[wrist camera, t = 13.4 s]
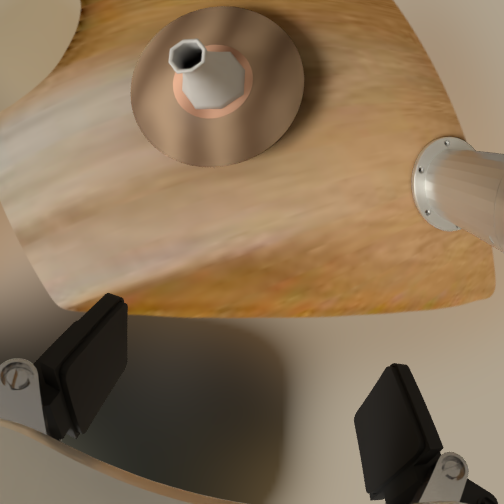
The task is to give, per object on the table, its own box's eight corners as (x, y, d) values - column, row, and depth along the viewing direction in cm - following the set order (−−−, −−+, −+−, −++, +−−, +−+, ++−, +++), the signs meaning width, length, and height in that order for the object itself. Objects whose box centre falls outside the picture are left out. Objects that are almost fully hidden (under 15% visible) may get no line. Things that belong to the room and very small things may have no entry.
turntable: (319, 29, 27) (321, 23, 25) (279, 184, 34) (279, 186, 32) (161, 8, 27) (155, 3, 25) (123, 151, 34) (115, 151, 32)
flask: (236, 43, 27) (219, 6, 18) (254, 100, 29) (243, 79, 20) (175, 64, 28) (138, 38, 19) (191, 119, 30) (155, 109, 21)
